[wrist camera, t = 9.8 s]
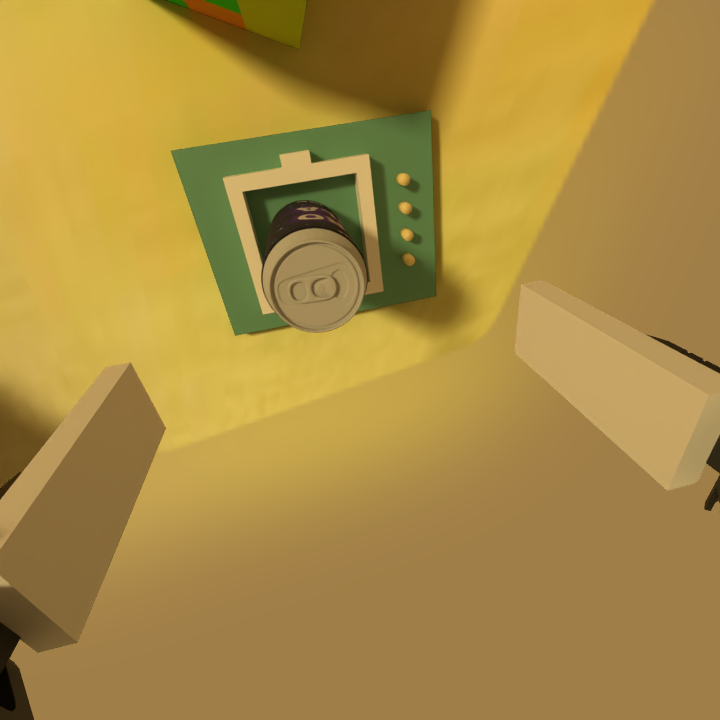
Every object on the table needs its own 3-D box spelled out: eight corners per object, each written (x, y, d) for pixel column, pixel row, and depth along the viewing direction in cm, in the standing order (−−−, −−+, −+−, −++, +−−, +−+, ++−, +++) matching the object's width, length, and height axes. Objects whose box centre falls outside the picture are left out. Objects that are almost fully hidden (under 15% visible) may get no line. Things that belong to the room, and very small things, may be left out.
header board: (236, 329, 33) (233, 343, 31) (175, 150, 26) (164, 151, 24) (431, 291, 35) (442, 302, 32) (425, 111, 27) (438, 108, 25)
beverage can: (346, 267, 31) (376, 330, 21) (277, 278, 30) (273, 347, 20) (337, 193, 28) (367, 223, 18) (261, 203, 27) (246, 240, 17)
